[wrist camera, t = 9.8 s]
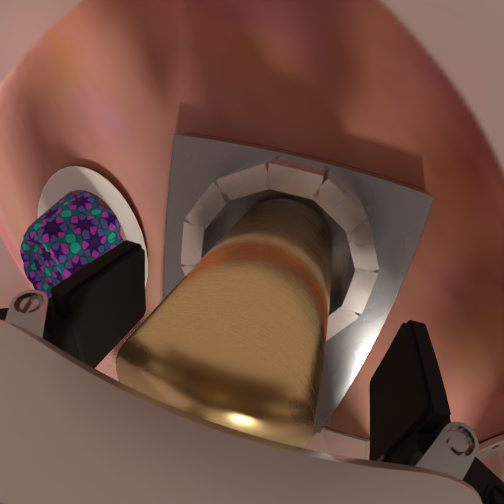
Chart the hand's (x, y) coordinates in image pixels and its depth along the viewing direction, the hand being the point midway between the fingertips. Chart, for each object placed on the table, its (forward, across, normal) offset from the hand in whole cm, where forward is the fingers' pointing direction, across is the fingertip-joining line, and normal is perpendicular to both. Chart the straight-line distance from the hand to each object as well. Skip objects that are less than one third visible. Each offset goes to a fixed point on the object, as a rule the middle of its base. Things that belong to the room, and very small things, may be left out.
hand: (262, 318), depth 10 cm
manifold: (+7, 0, +5) cm, 9 cm away
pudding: (+8, +15, +4) cm, 17 cm away
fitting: (+6, 0, 0) cm, 6 cm away
